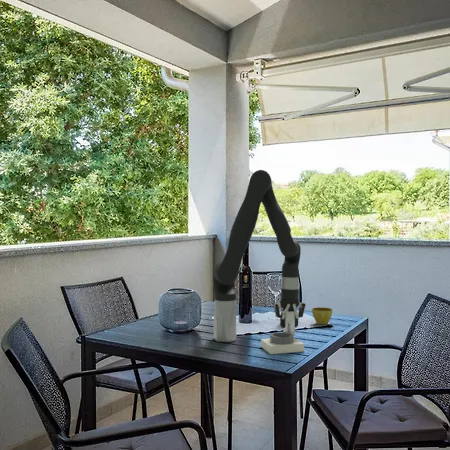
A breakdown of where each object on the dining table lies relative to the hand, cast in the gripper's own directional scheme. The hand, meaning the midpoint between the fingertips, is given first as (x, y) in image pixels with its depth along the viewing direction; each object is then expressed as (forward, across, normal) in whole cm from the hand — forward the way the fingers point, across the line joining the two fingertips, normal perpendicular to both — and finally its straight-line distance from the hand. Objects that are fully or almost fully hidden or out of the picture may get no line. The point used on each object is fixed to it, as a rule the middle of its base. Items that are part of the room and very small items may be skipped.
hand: (289, 327), depth 200 cm
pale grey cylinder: (+3, 0, 0) cm, 3 cm away
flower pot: (+5, +28, +27) cm, 39 cm away
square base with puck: (+6, -7, -11) cm, 14 cm away
